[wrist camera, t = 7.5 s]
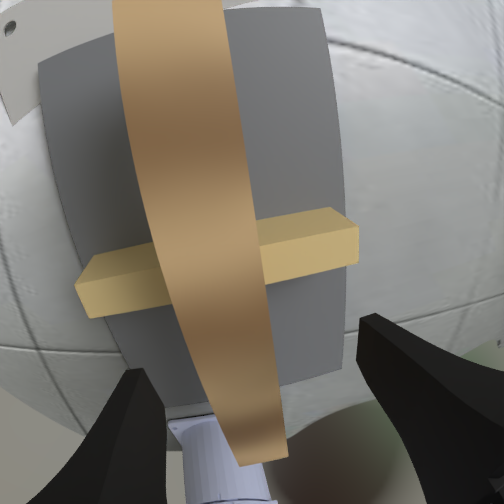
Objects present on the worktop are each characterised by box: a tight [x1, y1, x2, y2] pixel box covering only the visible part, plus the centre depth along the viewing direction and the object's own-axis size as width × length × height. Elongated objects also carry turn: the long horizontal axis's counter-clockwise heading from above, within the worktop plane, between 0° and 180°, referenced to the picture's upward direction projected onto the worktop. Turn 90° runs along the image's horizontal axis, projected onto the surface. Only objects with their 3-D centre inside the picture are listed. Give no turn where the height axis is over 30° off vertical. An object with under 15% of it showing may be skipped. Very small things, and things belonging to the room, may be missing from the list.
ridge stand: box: [38, 7, 359, 408], centre depth 16 cm, size 26×16×4 cm, turn 8°
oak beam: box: [112, 0, 288, 467], centre depth 12 cm, size 22×3×4 cm, turn 8°
